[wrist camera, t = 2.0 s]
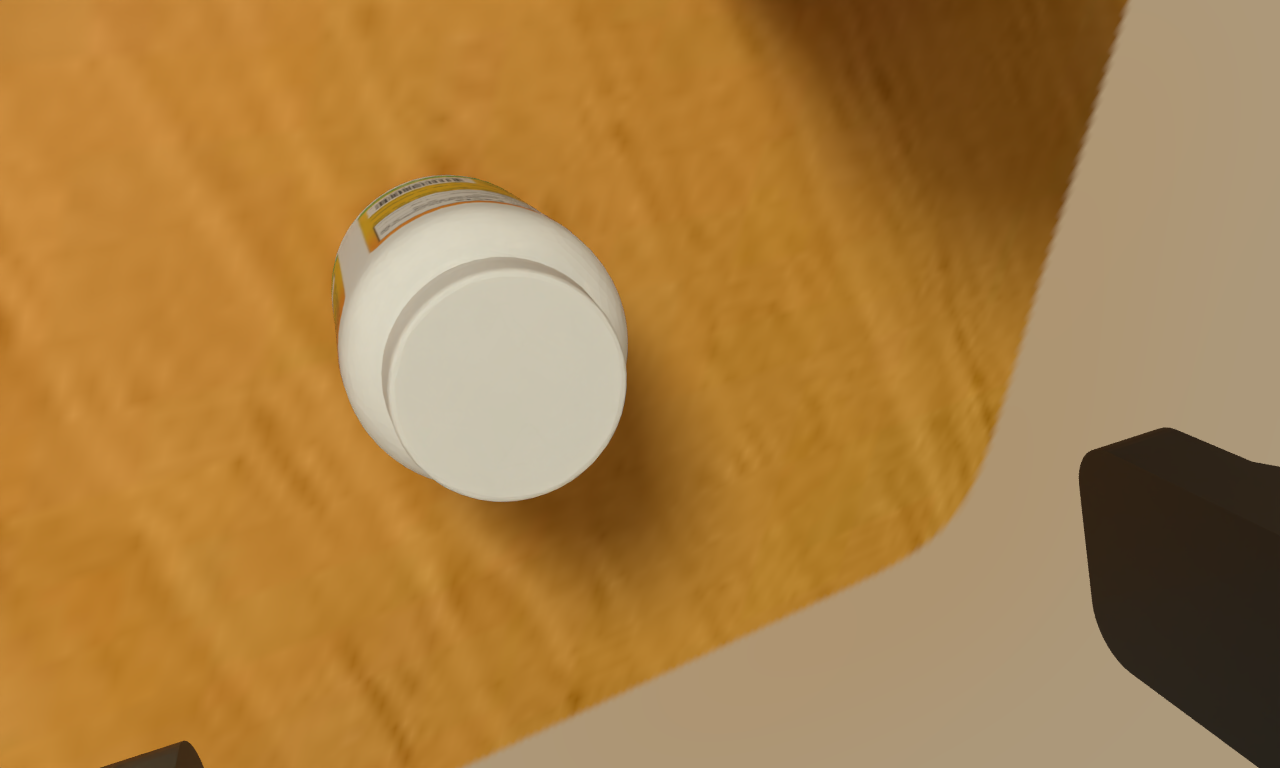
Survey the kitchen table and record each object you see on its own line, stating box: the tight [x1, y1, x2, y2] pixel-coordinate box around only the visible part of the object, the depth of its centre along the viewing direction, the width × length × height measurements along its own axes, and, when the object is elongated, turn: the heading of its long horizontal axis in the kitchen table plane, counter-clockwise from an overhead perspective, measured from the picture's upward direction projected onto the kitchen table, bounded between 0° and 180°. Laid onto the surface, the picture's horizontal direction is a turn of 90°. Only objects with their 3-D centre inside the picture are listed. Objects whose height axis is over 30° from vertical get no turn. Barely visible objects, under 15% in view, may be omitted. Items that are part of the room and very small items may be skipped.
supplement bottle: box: [331, 175, 628, 502], centre depth 25 cm, size 5×5×10 cm
